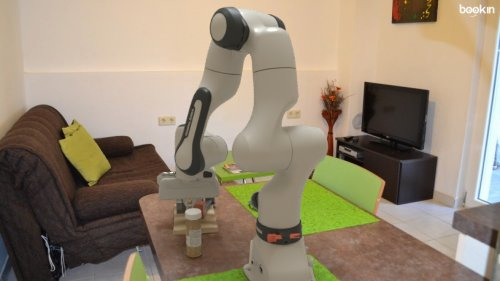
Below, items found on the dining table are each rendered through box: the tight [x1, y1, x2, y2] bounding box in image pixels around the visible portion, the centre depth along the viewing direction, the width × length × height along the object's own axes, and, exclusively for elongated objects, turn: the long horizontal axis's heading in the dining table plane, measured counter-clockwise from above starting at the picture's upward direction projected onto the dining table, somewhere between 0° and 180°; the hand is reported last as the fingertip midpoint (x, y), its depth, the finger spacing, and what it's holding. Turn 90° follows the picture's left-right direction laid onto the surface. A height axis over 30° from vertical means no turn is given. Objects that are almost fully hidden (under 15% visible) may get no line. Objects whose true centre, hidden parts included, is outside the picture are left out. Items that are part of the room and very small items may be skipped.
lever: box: [192, 198, 216, 219], centre depth 142 cm, size 16×6×5 cm, turn 171°
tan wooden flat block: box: [173, 199, 219, 236], centre depth 138 cm, size 23×15×6 cm, turn 10°
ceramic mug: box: [247, 189, 260, 212], centre depth 149 cm, size 11×8×8 cm
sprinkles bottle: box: [185, 208, 203, 258], centre depth 113 cm, size 5×5×14 cm
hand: (189, 210), depth 134 cm, fingers closed
